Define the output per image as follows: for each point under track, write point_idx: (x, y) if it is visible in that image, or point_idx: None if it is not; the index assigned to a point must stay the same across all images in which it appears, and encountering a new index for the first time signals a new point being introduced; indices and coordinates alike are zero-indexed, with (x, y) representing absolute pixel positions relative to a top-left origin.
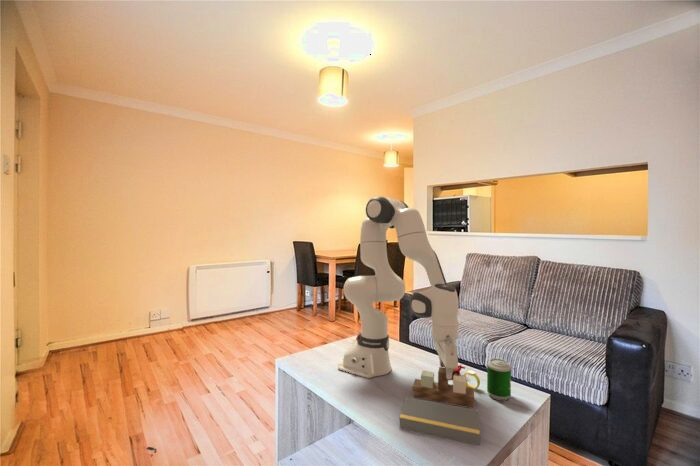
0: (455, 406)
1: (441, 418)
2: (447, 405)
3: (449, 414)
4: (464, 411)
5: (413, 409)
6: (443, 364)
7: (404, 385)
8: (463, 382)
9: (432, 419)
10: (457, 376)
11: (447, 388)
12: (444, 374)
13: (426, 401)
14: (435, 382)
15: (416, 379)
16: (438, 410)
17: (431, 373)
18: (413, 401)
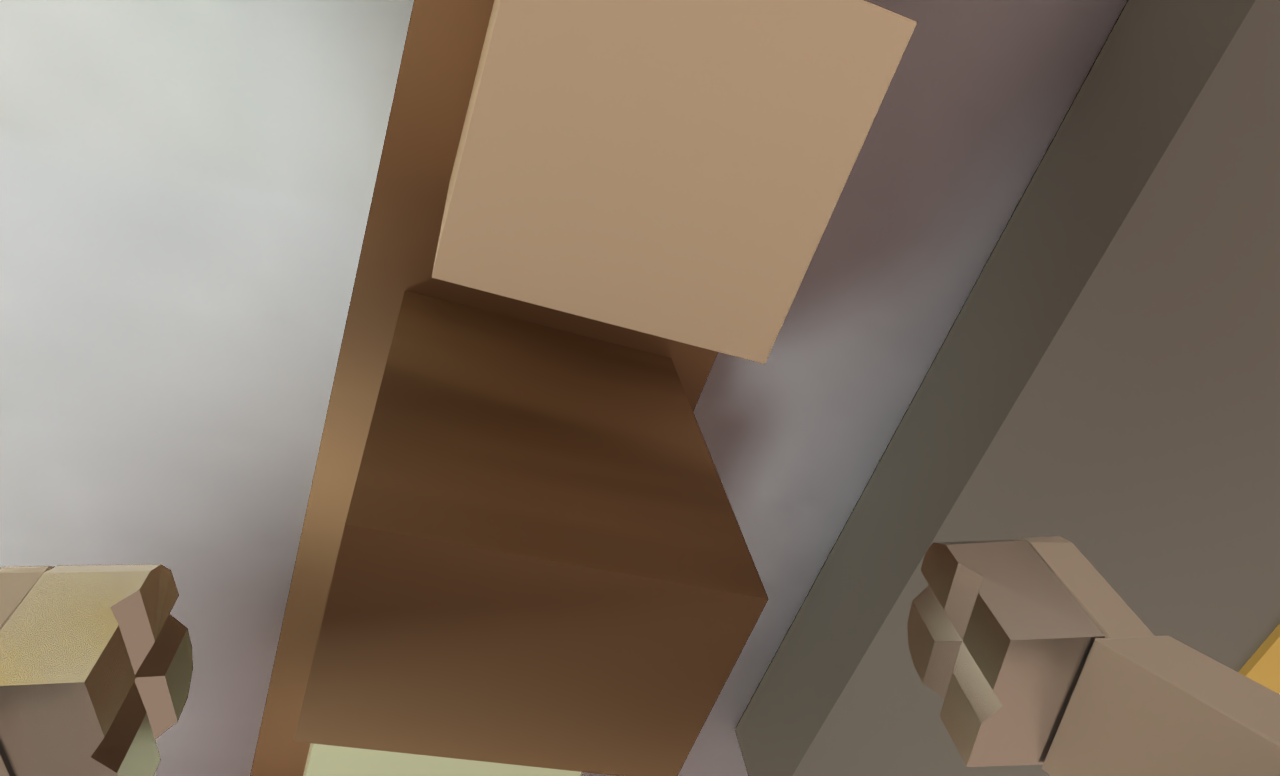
0: (1084, 299)
1: (1277, 529)
2: (1029, 409)
3: (1239, 426)
4: (1245, 192)
5: (1024, 768)
6: (128, 667)
7: (219, 760)
8: (878, 88)
9: (1253, 615)
10: (515, 178)
11: (605, 351)
12: (734, 638)
13: (884, 648)
14: (325, 507)
15: (271, 766)
16: (1115, 539)
17: (409, 757)
18: (865, 769)
